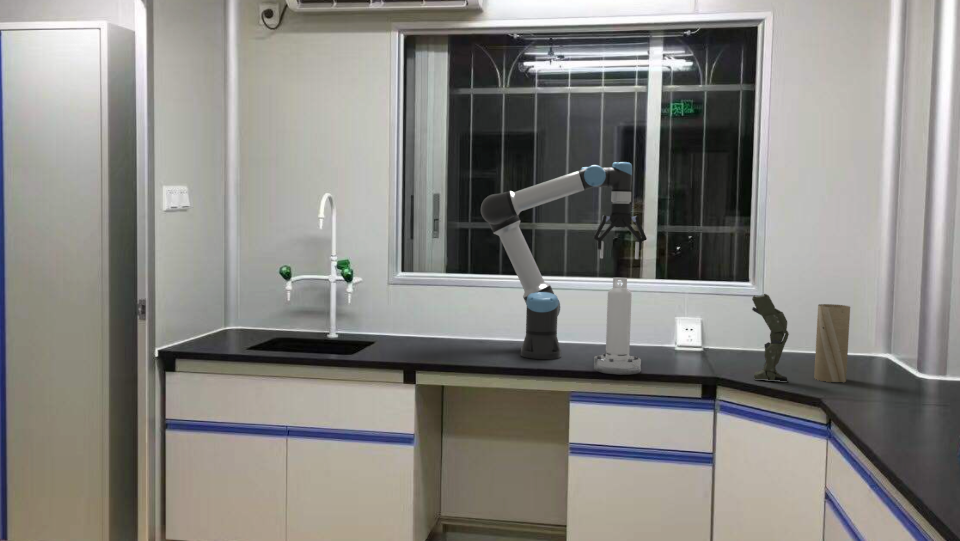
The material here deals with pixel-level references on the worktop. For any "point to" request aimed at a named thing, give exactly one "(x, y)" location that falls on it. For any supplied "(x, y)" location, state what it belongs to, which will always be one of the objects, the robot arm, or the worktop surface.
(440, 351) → the worktop surface
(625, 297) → the bottle
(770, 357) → the mechanical leg
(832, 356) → the tube
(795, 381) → the worktop surface
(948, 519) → the worktop surface
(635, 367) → the flange stand
